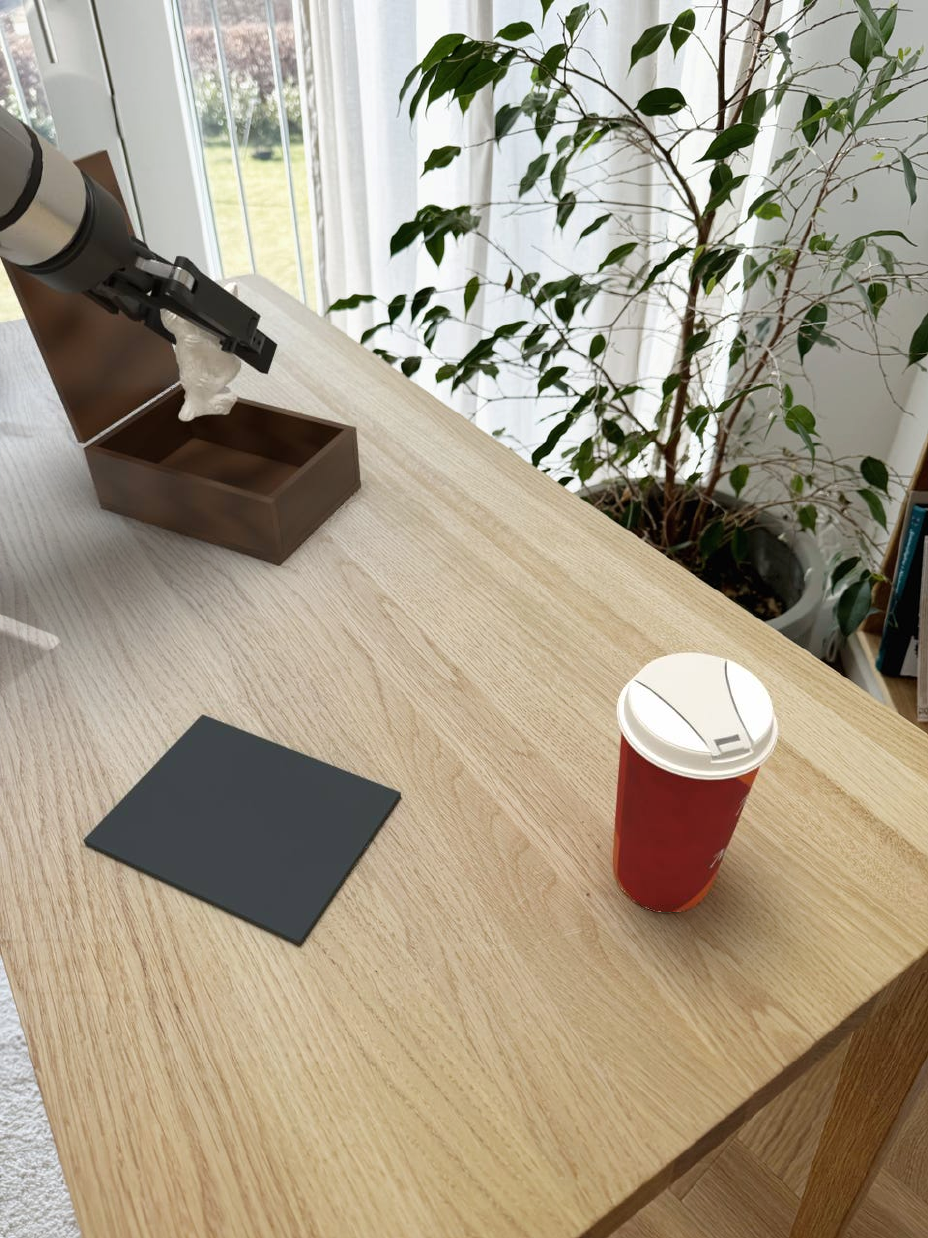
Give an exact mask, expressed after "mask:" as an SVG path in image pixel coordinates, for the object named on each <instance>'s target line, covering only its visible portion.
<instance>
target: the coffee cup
mask: <svg viewBox="0 0 928 1238" xmlns="http://www.w3.org/2000/svg"><path fill="white" fill-rule="evenodd" d="M616 719H617V723H618V726H619V729H620V731H621V732H620V746H619V759H618V760H619V761H618V773H617V786H616V798H615V799H616V800H615V801H616V802H615V812H614V813H615V814H614V815H615V816H614V817H615V818H614V831H613V833H614V834H613V846H612V847H613V849H612V851H613V852H612V869H613V874H614V878H615V877H616V878H615V881H616V880H617V881H616V883H617V882H618V883H619V885H620V887H621V888H622V889H623V891H625V893H626V894H627V895H628V896H629V897H630V898H631V899H632V900H634V901H635V902H637V903H638V904H640V905H642V906H644V907H647V908H649V909H652V910H655V911H661V912H678V911H679V913H681V912H680V911H683V910H684V911H683V912H686V911H685V910H687V909H689V910H691V909H692V908H691V907H693V908H694V906H695V905H696V906H698V905H699V904H700V903H702V901H704V899H705V897H706V896H707V895H708V893H709V891H710V889H711V887H712V885H713V883H714V881H715V879H716V876H717V874H718V872H719V869H720V867H721V864H722V862H723V860H724V857H725V854H726V852H727V849H728V848H729V845H730V842H731V840H732V838H733V835H734V833H735V831H736V827H737V825H738V822H739V820H740V817H741V815H742V814H743V810H744V807H745V804H746V803H747V800H748V798H749V795H750V792H751V790H752V787H753V785H754V782H755V780H756V777H757V775H758V773H759V770H760V768H761V765H763V764H764V763H765V762H766V761H767V760H768V759H769V757H771V755H772V754H773V752H774V749H775V748H776V746H777V741H778V737H779V726H778V720H777V716H776V715H775V712H774V706H773V701H772V698H771V696H770V694H769V691H767V689H766V687H765V685H763V683H762V682H761V681H760V680H759V679H758V677H757V676H755V675H754V674H753V673H752V672H750V671H749V670H748V669H746V668H745V667H743V666H742V665H741V664H739V663H737V662H734V661H733V660H730V659H727V658H725V657H721V656H717V655H712V654H707V653H701V652H692V651H691V652H690V651H689V652H677V653H671V654H668V655H664V656H660V657H658V658H656V659H653V660H651V661H649V662H648V663H647V664H645V665H644V667H642V668H641V669H640V671H638V673H636V675H635V676H634V677H632V678H631V680H629V681H628V682H627V683H626V685H625V686H624V687H623V688H622V690H621V692H620V694H619V697H618V700H617V705H616ZM618 883H617V884H618ZM619 885H618V886H619ZM620 887H619V888H620ZM621 888H620V889H621ZM623 891H622V892H623ZM625 893H624V894H625ZM626 894H625V895H626ZM627 895H626V896H627ZM628 896H627V897H628ZM629 897H628V898H629ZM630 898H629V899H630ZM703 898H704V899H703ZM631 899H630V900H631ZM632 900H631V901H632ZM635 902H634V903H635ZM699 902H700V903H699ZM698 903H699V904H698ZM638 904H637V905H638ZM697 904H698V905H697ZM640 905H639V906H640ZM696 906H695V907H696ZM644 907H643V908H644ZM690 908H691V909H690ZM655 911H654V912H655ZM687 911H688V910H687Z"/></svg>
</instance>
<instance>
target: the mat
mask: <svg viewBox="0 0 928 1238" xmlns="http://www.w3.org/2000/svg"><path fill="white" fill-rule="evenodd" d="M401 798H402V792H401V791H398V790H395V789H394V788H390V787H388V786H385V785H383V784H380V783H378V782H375V781H373V780H371V779H368V778H365V777H363V776H360V775H357V774H355V773H353V772H351V771H347V770H345V769H342V768H340V767H338V766H335V765H332V764H330V763H327V762H325V761H322V760H321V759H320V760H319V759H317V758H315V757H312V756H310V755H307V754H304V753H302V752H300V751H297V750H294V749H292V748H290V747H287V746H283V745H281V744H279V743H277V742H274V741H271V740H270V739H266V738H264V737H261V736H258V735H257V734H254V733H251V732H249V731H246V730H243V729H241V728H239V727H236V726H233V725H231V724H228V723H226V722H223V721H221V720H218V719H215V718H213V717H210V716H207V715H205V714H201V715H200V716H199V717H198V718H197V719H196V720H195V721H194V723H193V724H192V725H191V726H189V728H188V729H187V730H186V731H185V732H184V733H183V734H182V735H181V736H180V737H179V738H178V739H177V741H176V742H174V743H173V745H172V746H171V747H170V748H168V750H167V751H166V752H165V753H164V754H163V755H162V756H161V757H160V758H159V759H158V760H157V762H155V763H154V765H152V767H151V768H150V769H149V770H148V771H147V772H146V773H145V774H144V775H143V776H142V777H141V779H139V780H138V782H136V784H135V785H134V786H133V787H132V788H130V790H129V791H128V792H127V793H126V794H125V795H124V797H122V799H121V800H119V802H118V803H116V804H115V806H114V807H112V809H111V810H110V811H109V812H108V813H107V814H106V816H105V817H103V818H102V820H100V821H99V823H98V824H97V825H95V827H94V828H93V829H92V830H91V831H90V832H89V833H88V835H86V836H85V837H84V838H83V840H82V841H83V843H84V845H85V846H87V847H89V848H91V849H94V850H96V851H97V852H100V853H102V854H104V855H106V856H108V857H111V858H112V859H115V860H117V861H119V862H121V863H123V864H125V865H127V866H129V867H132V868H133V869H136V870H138V871H140V872H142V873H144V874H147V876H150V877H153V878H155V879H157V880H159V881H162V882H163V883H166V884H168V885H169V886H171V887H174V888H176V889H178V890H180V891H183V892H184V893H186V894H189V895H192V896H193V897H195V898H197V899H200V900H201V901H204V902H206V903H208V904H210V905H212V906H214V907H216V908H218V909H220V910H223V911H224V912H227V913H229V914H231V915H234V916H235V917H237V918H240V919H242V920H244V921H246V922H248V923H250V924H252V925H255V926H256V927H259V928H260V929H263V930H265V931H267V932H269V933H271V934H273V935H276V936H277V937H279V938H282V939H284V940H286V941H289V942H290V941H291V942H290V943H292V942H293V944H295V945H296V946H299V945H301V946H302V945H303V943H304V941H306V939H307V937H308V935H309V934H310V933H309V931H310V932H311V931H312V930H313V928H314V927H313V926H315V925H316V924H317V922H318V921H319V919H320V918H321V916H322V915H323V913H324V912H325V910H326V909H327V908H328V906H329V905H330V903H331V901H332V900H333V898H334V897H335V896H336V894H337V893H336V892H338V891H339V890H340V888H341V887H342V885H343V884H344V882H345V881H346V879H347V878H348V877H349V875H350V874H351V872H352V870H353V869H354V867H355V866H356V865H357V863H358V862H359V860H360V859H361V857H362V856H363V854H364V853H365V852H366V850H367V848H368V847H369V845H370V844H371V842H372V841H373V839H374V838H375V836H376V835H377V834H378V832H379V831H380V829H381V827H382V826H383V824H384V823H385V822H386V820H387V819H388V817H389V816H390V814H391V813H392V811H393V810H394V808H395V807H396V805H397V804H398V802H399V801H400V799H401ZM388 815H389V816H388ZM369 843H370V844H369ZM366 847H367V848H366ZM354 865H355V866H354ZM352 868H353V869H352ZM350 871H351V872H350ZM348 874H349V875H348ZM346 877H347V878H346ZM344 880H345V881H344ZM342 883H343V884H342ZM341 884H342V885H341ZM340 886H341V887H340ZM339 887H340V888H339ZM338 889H339V890H338ZM337 890H338V891H337ZM335 893H336V894H335ZM333 896H334V897H333ZM331 899H332V900H331ZM329 902H330V903H329ZM327 905H328V906H327ZM325 908H326V909H325ZM321 914H322V915H321ZM320 915H321V916H320ZM319 917H320V918H319ZM318 918H319V919H318ZM317 920H318V921H317ZM316 921H317V922H316ZM315 923H316V924H315ZM314 924H315V925H314ZM311 929H312V930H311ZM308 933H309V934H308ZM307 934H308V935H307ZM306 936H307V937H306Z"/></svg>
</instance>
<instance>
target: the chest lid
mask: <svg viewBox="0 0 928 1238" xmlns="http://www.w3.org/2000/svg"><path fill="white" fill-rule="evenodd" d="M71 161H72V162H73V163H74V164H75V165H76V166H77V168H79V169H80V170H82V171H83V172H85V173H86V174H87V175H88V176H90V177H91V178H92V179H93V180H94V181H96V182H97V183H98V184H99V185H101V186H102V187H103V188H104V189H105V190H107V191H108V192H109V193H110V194H112V195H113V196H114V197H115V198H116V200H117V201H118V202H119V204H120V205H121V207H122V209H123V211H124V214H125V218H126V222H127V227H128V231H129V235H132V236H134V237H136V238H137V235H136V233H135V230H134V226H133V223H132V220H131V218H130V217H131V216H130V214H129V212H128V208H127V205H126V202H125V199H124V197H123V194H122V190H121V188H120V185H119V181H118V179H117V176H116V173H115V170H114V166H113V164H112V161H111V158H110V155H109V152H108V149H100V150H97V151H94V152H92V153H89V154H87V155H84V156H81V157H79V158H76V159H73V160H71ZM0 262H1V263H2V266H3V268H4V270H5V272H6V274H7V275H6V276H7V277H8V280H9V283H10V284H11V287H12V290H13V292H14V295H15V296H16V298H17V301H18V304H19V306H20V308H21V310H22V313H23V315H24V318H25V320H26V322H27V325H28V327H29V329H30V332H31V334H32V337H33V339H34V341H35V344H36V346H37V348H38V350H39V354H40V356H41V358H42V361H43V363H44V366H45V368H46V369H47V372H48V375H49V377H50V379H51V381H52V384H53V386H54V389H55V390H56V393H57V395H58V398H59V401H60V403H61V405H62V407H63V410H64V412H65V415H66V416H67V420H68V422H69V424H70V427H71V429H72V431H73V434H74V436H75V438H76V440H77V443H78V444H86V443H88V442H89V441H91V440H92V439H94V438H95V437H97V436H99V435H100V434H102V433H103V432H104V431H106V430H108V429H109V428H111V427H112V426H113V425H115V424H117V423H118V422H120V421H121V420H123V419H125V418H126V417H127V416H128V415H130V414H132V413H134V412H135V411H136V410H138V409H139V408H141V407H142V406H144V405H145V404H147V403H148V402H150V401H152V400H153V399H154V398H156V397H157V396H159V395H160V394H162V393H163V392H165V391H167V389H170V388H171V387H172V386H174V385H175V384H177V383H179V382H180V376H179V372H180V369H179V364H178V363H177V359H176V354H175V347H174V344H172V343H171V342H169V341H168V340H166V339H165V338H163V337H162V336H160V335H158V334H157V333H155V332H154V331H152V330H151V329H149V328H148V327H146V326H145V325H144V323H145V321H143V320H142V321H141V322H138V321H136V322H135V321H132V320H131V319H129V318H128V317H127V316H126V315H125V314H124V313H123V312H122V311H121V310H120V313H119V315H117V314H110V313H108V311H107V310H105V309H104V308H102V307H101V306H99V305H98V304H96V303H95V302H94V301H92V300H91V299H89V298H88V297H86V296H85V295H83V294H82V293H75V294H69V293H62V292H59V291H56V290H54V289H52V288H50V287H48V286H47V285H45V284H44V283H42V282H40V281H39V280H37V279H36V278H34V277H32V276H31V275H29V274H27V273H26V272H24V271H23V270H21V269H20V268H18V267H17V266H16V265H15V264H14V263H12V262H10V261H9V260H7V259H5V258H4V257H2V256H0Z"/></svg>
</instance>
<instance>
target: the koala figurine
mask: <svg viewBox="0 0 928 1238" xmlns="http://www.w3.org/2000/svg"><path fill="white" fill-rule="evenodd" d="M223 288H224V289H225V290H226V291H228V292H229V293H231V294H232V295H233V296H235V297H236V298H237V299H239V287H238V284H237V282H235V281H233V282H229V283H227V284H226V285H225V286H224V287H223ZM150 294H151V292H149V293H147V295H149V296H150ZM160 312H161V320H162V322H163V325H164V327H165V328H166V329H167V330H168V331H169V332H171V333H173V334H174V335H175V338H176V340H177V344H176V346H174V351H175V354H176V359H177V363H178V364H179V369H180V372H179V376H180V381H179V383H181V384H182V386H183V388H184V390H185V391H186V393H185V395H184V398H185V400H186V401H185V403H184V405H183V406H182V409H181V411H180V413H179V416H178V417H179V419H181V420H182V421H190V420H192V419H194V418H195V417H198V416H202V415H207V414H208V415H210V414H224V415H227V414H229V412H230V410H231V408H232V407H233V405H234V404H235V402H236V401H237V397H238V395H237V393H236V392H233V391H232V390H231V388H230V387H229V386H227V385H228V384H230V383H231V382H233V380H235V378H236V377H237V375H239V373H240V372H241V369H242V365H243V360H242V359H240V358H239V357H238V356H236V355H235V354H230V353H226V352H224V351H222V350H221V349H222V345H221V344H219V342H220V339H219V338H217V337H216V336H214V335H212V334H210V333H208V332H207V331H205V330H203V329H201V328H199V327H197V326H196V325H194V324H192V323H190V322H188V321H186V320H185V319H183V318H181V317H179V316H177V315H176V314H174V313H172V312H170V311H168V310H166V309H165V308H164V309H160Z"/></svg>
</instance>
